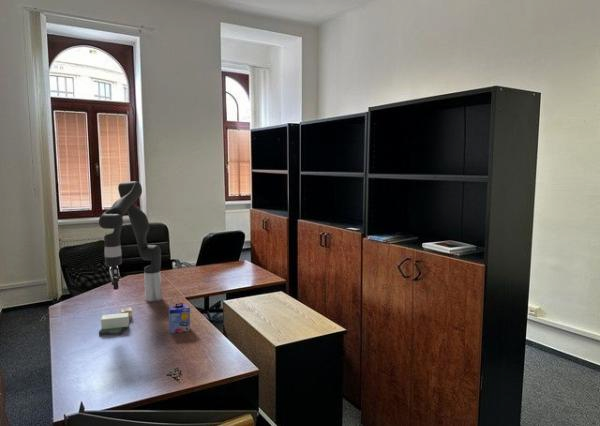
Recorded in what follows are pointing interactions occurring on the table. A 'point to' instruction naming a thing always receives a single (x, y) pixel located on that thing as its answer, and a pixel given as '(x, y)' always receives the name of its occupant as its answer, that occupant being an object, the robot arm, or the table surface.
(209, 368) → the table surface
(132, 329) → the table surface
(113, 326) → the sage plank
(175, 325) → the ink cartridge box
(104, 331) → the disk drive
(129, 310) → the maple block
